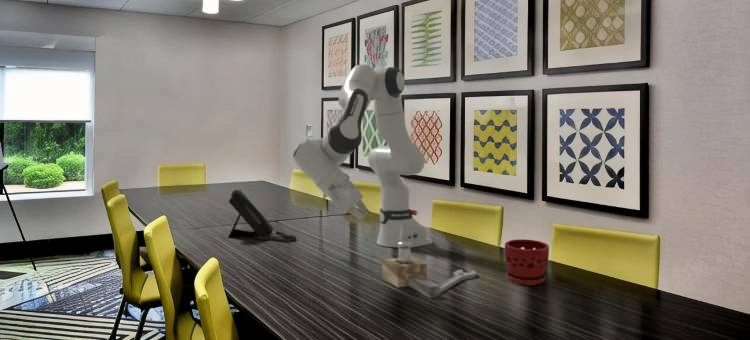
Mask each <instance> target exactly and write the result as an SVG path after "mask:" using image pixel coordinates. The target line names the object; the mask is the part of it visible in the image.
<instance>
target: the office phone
mask: <svg viewBox="0 0 750 340" xmlns="http://www.w3.org/2000/svg"><path fill="white" fill-rule="evenodd" d="M230 196H231V197H230V199H229V200H228V203H229V204H230V205H231V206H232V207H233V208H234V210H236V212H237V213H238V216H237V218H236V220H235V222H234V224H233V226H232V228H231V231H230V233H229V235H228V237H230V236H231V235H232V233H233V232H234V231H235V229H236V226H237V225H238V222H239V220H240V219H241V217H242V219H243V220H244V221H245V222H246V223H247V225H249V226H250V228H251V229H252V231H254V238H255V239H257V240H260V241H274V242H275V241H278V242H283V243H285V242H286V243H289V242H295V241H297V237H296V236H295V235H290V234H286V233H284V232H280V231H279V230H277V231H275V232H274V233H273V230H274V226H272V224H271V223H269V221H268V220H267V219H266V218H265V217H264V216H263V214H262V213H261V212H260V211H259V210H258V208H257V207H256V206H255V205H254V204H253V203H252V201H251V200H250V199H249V198H248V197H247V196H246V195H245V193H244V192H242V190H241V189H240V190H238V189H234V190H233V191H232V193H231V194H230ZM256 235H257V236H256ZM271 235H272V236H271ZM273 235H277V236H279V237H275V236H273ZM280 236H281V237H280Z"/></svg>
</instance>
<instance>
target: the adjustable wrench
mask: <svg viewBox="0 0 750 340" xmlns="http://www.w3.org/2000/svg"><path fill="white" fill-rule="evenodd" d="M452 273H453V274H452V277H450V278H448V279H447V280H445V281H442V282H440V283H438V284H437V285H438V286H439V294H441V293H443V292H445V291H447V290H448V289H450V288H452V286H455V285H456V284H458V283H460V282H461V281H464V280H468V279H469V278H470V279H474V277H475V278H476V277H477V271H475V270H474V269H473V270H471V271H470V272H464V270H463V269H458V270H456V271H453V272H452ZM470 279H469V280H470Z"/></svg>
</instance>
